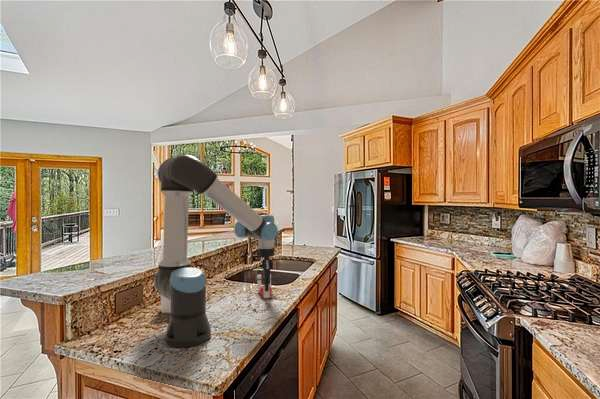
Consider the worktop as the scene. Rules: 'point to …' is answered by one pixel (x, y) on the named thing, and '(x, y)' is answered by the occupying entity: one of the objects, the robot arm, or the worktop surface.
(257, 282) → the pin
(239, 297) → the worktop surface
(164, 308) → the jar
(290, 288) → the worktop surface
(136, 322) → the worktop surface
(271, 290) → the ball
